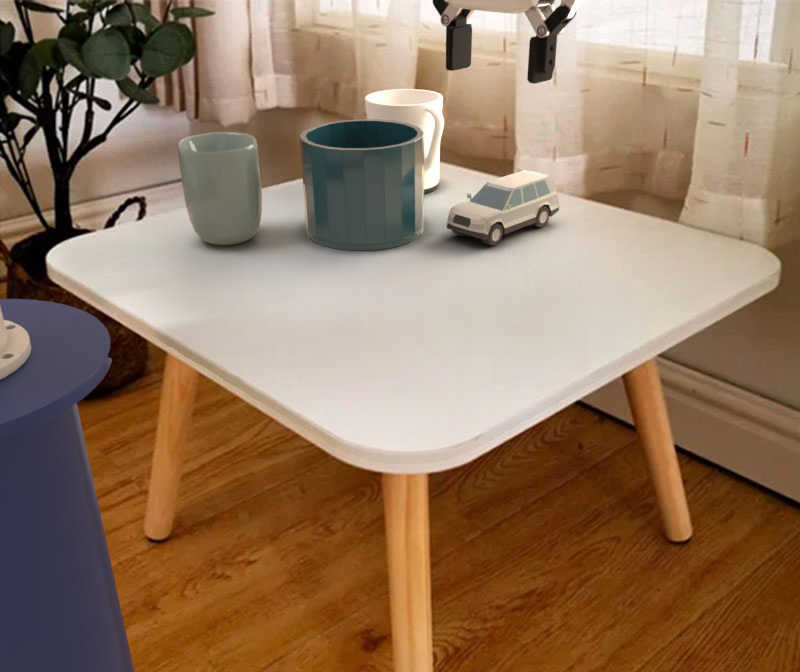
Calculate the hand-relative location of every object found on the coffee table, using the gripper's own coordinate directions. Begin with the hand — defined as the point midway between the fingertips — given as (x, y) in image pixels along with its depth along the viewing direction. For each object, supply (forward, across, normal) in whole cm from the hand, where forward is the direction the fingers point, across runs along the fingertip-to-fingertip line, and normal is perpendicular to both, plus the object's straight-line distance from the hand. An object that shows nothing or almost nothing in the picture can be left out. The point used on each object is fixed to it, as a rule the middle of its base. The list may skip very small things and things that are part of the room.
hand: (497, 74), depth 90 cm
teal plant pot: (+16, -10, -8) cm, 20 cm away
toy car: (+16, +1, +1) cm, 16 cm away
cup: (+16, -19, -19) cm, 31 cm away
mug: (+16, -16, +6) cm, 24 cm away
